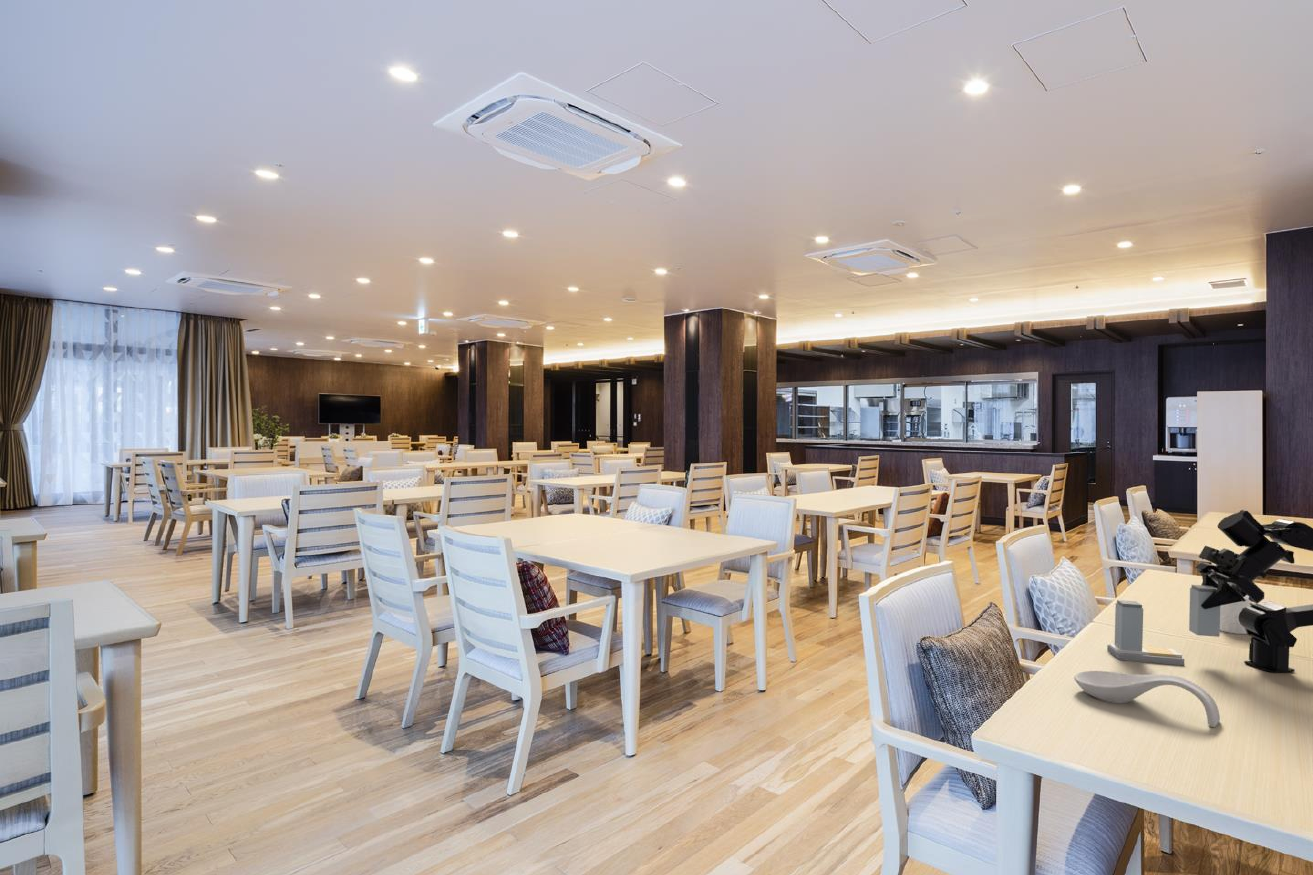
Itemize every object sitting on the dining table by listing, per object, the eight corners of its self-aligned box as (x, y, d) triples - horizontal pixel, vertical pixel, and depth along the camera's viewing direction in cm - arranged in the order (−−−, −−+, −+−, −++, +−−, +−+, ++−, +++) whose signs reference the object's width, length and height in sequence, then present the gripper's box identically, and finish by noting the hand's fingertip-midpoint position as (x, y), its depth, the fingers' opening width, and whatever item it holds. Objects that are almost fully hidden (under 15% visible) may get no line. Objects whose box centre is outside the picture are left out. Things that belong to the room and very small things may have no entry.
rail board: (1170, 655, 169) (1170, 647, 169) (1184, 665, 162) (1184, 656, 162) (1107, 650, 172) (1107, 642, 172) (1118, 659, 166) (1118, 651, 166)
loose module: (1210, 631, 166) (1211, 585, 166) (1219, 636, 162) (1220, 589, 162) (1189, 630, 167) (1190, 584, 167) (1197, 635, 163) (1198, 588, 163)
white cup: (1258, 635, 188) (1260, 598, 188) (1229, 634, 188) (1230, 597, 188) (1235, 626, 196) (1236, 591, 195) (1206, 626, 196) (1207, 590, 196)
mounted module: (1135, 646, 170) (1136, 601, 169) (1142, 651, 166) (1143, 605, 166) (1114, 644, 171) (1115, 599, 171) (1121, 649, 167) (1122, 603, 167)
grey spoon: (1065, 696, 143) (1066, 661, 143) (1084, 682, 151) (1085, 649, 151) (1211, 735, 126) (1212, 695, 125) (1224, 717, 133) (1225, 680, 133)
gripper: (1205, 529, 172) (1153, 571, 175) (1249, 541, 154) (1190, 588, 157) (1242, 563, 170) (1188, 605, 173) (1291, 579, 152) (1230, 626, 155)
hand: (1198, 605), depth 165 cm, fingers closed on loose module, 4 cm apart
